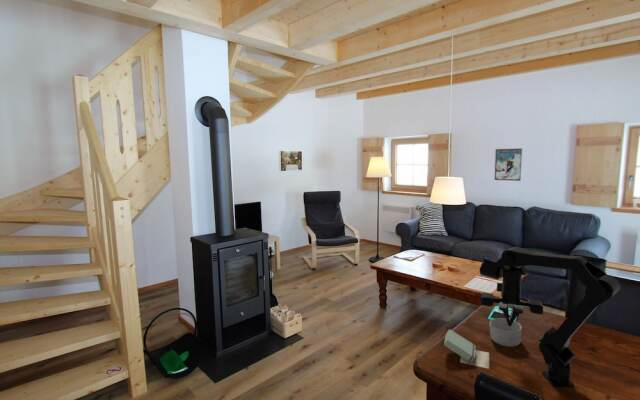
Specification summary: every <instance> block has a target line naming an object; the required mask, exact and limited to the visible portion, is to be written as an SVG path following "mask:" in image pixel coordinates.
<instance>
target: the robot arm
mask: <svg viewBox="0 0 640 400" xmlns="http://www.w3.org/2000/svg"><path fill="white" fill-rule="evenodd" d="M526 266H527V267H528V266H533V267H534V266H535V267H542V268H543V267H545V268H552V269H559V270H560V269H561V270H568V271H571V272H573V273H574V274H575V275H576V277H577V279H578V280H579V281H580V283H581V284H582V285H583V286H584V287H585V291H584V293H583V296H582V299H581V301H580V302H578V304H577V306H575V308H573V310H572V311H571V313H569V315H568V316H567V317H566V318H565V319H564V321H563V322H562V323H561V325H560V326H559V327H558V328H557V329H556V328H555V327H554V326H551V328H550V329H548V330H546V331H545V332H544V334H543V336H542V337H541V338H539V340H538V342H539V344H538V349H539V351H540V353H541V354H542V357H543V360H544V363H545V364H546V371H544V370H543V371H541V374H542V376H544V377H545V379H546V380H547V381H548V382H549V383H550V384H551V385H552V386H554V387H555V386H556V387H575V383H574V382H573V381H572V380H571V379H570V377H571V376H570V375H571V364H570V363H571V361H573V360H574V359H575V357H576V355H575V353H574V352H573V351H572V350H571V349H570V347H569V344H570V342H571V339H572V336H573V335H574V334H575V333H576V332H577V331H578V329H580V327H581V326H582V325H583V324H584V323H585V322H586V321H587V319H588V318H589V317H590V316H591V315H592V313H593V312H595V310H597V308H598V307H599V306H601V305H603V304H604V303H605V302H606V301H608V300H610V299H611V298H612V297H614V296H615V295H616V294H617V293H619V291H620V289H621V285H620V282H619V280H618V279H617V278H616V277H614V276H612V275H610V274H608V273H607V272H605V271H604V270H603V269H601V267H598V266H596V265H595V264H593V263H592V262H590V261H589V260H588V259H587V258H586V257H583V256H582V255H566V254H565V255H564V254H557V253H556V254H555V253H544V252H535V251H532V250H529V249H527V248H522V247H519V246H515V247H514V246H513V247H511V248H508V249H505V250H503V252H502V253H501V255H500V258H499V259H498V260H496V259H492V258H489V257H485V258H483V262H481V265H480V267H479V274H480V276H482V277H486V278H489V279H493V280H500V279H502V282H496V292H499V293H500V292H501V293H500V297H501V298H500V297H495V296H494V293H492V292H491V293H489V292H482V293H481V299H480V304H481V306H484V307H485V306H486V307H490V308H491V307H492V306H494V304H498V306H499V310H502V311H503V313H504V315H505V317H506V321H507V324H508V326H511V325H512V323H513V322H514V320H515V318H516V317H517V318H518V317H519V315H520V314H523V313H524V308H525V309H526V308H527V309H529V312H530V313H532V314H535V315H536V314H537V315H543V314H544V305H543V302H542V301H541V300H540V299H534V298H533V299H532V298H527V301H522V300H521V299H522V298H521V294H522V281H523V280H522V279H523V276H526V275H528V274H530V270H528V269H527V268H526ZM509 306H511V309H512V311H511V316H510V320H509V310H508V308H509Z"/></svg>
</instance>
